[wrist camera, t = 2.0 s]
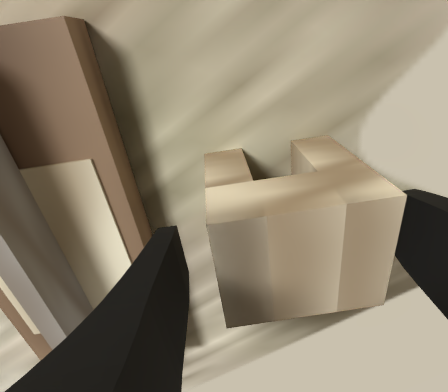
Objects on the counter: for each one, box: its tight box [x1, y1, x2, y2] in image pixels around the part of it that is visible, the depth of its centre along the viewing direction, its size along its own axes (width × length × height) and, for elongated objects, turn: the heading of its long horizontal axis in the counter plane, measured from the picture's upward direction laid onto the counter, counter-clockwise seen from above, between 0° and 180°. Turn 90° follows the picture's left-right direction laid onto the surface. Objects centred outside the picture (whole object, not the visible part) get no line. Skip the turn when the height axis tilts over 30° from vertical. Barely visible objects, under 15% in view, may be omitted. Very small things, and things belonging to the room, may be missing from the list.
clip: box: [204, 135, 407, 328], centre depth 10 cm, size 5×4×5 cm
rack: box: [0, 16, 153, 360], centre depth 11 cm, size 7×16×4 cm, turn 7°
